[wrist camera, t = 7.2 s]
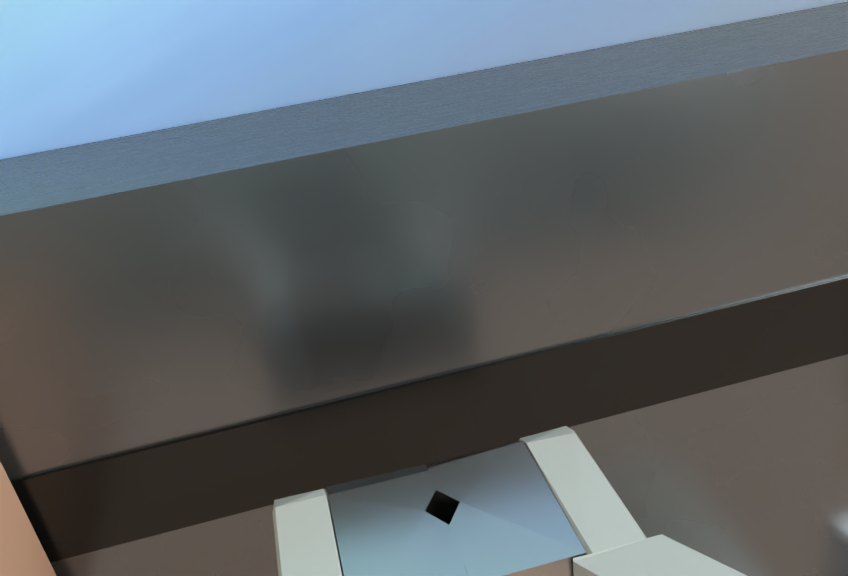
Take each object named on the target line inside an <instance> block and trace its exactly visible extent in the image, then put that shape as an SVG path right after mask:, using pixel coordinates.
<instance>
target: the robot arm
mask: <svg viewBox="0 0 848 576" xmlns="http://www.w3.org/2000/svg"><path fill="white" fill-rule="evenodd" d="M327 492H328V495H327ZM327 492H326V489H320V490H315V491H311V492H307V493H302V494H298V495H294V496H289V497H285V498H281V499H276V500H274V505H273V511H272V514H273V524H274V534H275V544H276V554H277V564H278V575H279V576H747V575H745V574H743V573H741V572H739V571H737V570H735V569H733V568H731V567H729V566H726V565H724V564H722V563H720V562H718V561H716V560H714V559H712V558H710V557H708V556H706V555H704V554H702V553H700V552H698V551H696V550H693V549H691V548H689V547H687V546H685V545H683V544H681V543H679V542H677V541H675V540H673V539H671V538H669V537H667V536H665V535H663V534H661V535H657V536H653V537H649V538H646V536H645V535H644V533H643V532H642V530H641V529H640V527H639V526H638V524H637V523H636V521H635V520H634V518H633V517H632V515H631V514H630V512H629V511H628V510H627V508H626V507H625V505H624V504H623V502H622V501H621V499H620V498H619V496H618V495H617V493H616V492H615V490H614V489H613V487H612V486H611V484H610V483H609V481H608V480H607V479H606V477H605V476H604V474H603V473H602V471H601V470H600V468H599V467H598V465H597V464H596V462H595V461H594V459H593V458H592V456H591V455H590V453H589V452H588V451H587V449H586V448H585V446H584V445H583V443H582V442H581V440H580V439H579V437H578V436H577V434H576V433H575V431H574V430H572V429H570V428H569V427H567V426H563V427H560V428H556V429H552V430H549V431H545V432H541V433H538V434H534V435H531V436H527V437H523V438H520V439H519V441H512V442H508V443H504V444H501V445H497V446H493V447H489V448H485V449H481V450H478V451H474V452H470V453H466V454H462V455H459V456H455V457H451V458H447V459H443V460H439V461H436V462H432V463H428V464H424V465H420V466H415V467H411V468H407V469H402V470H398V471H394V472H389V473H385V474H381V475H376V476H372V477H368V478H363V479H359V480H354V481H350V482H346V483H341V484H337V485H333V486H328V487H327ZM328 497H329V499H328ZM329 503H330V504H329Z"/></svg>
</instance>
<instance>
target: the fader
mask: <svg viewBox="0 0 848 576" xmlns="http://www.w3.org/2000/svg"><path fill="white" fill-rule="evenodd" d="M0 576H56V574H55V572H54V570H53V568H52V566H51V563H50V561H49V559H48V557H47V555H46V553H45V551H44V549H43V547H42V545H41V543H40V541H39V539H38V537H37V535H36V533H35V531H34V529H33V527H32V525H31V523H30V521H29V519H28V517H27V515H26V513H25V510H24V508H23V506H22V504H21V502H20V500H19V498H18V496H17V494H16V492H15V490H14V488H13V486H12V484H11V482H10V480H9V478H8V476H7V474H6V472H5V470H4V468H3V466H2V464H1V462H0Z"/></svg>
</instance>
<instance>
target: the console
mask: <svg viewBox="0 0 848 576" xmlns="http://www.w3.org/2000/svg"><path fill="white" fill-rule="evenodd" d="M563 426H567V427H569V428H570V429H572V430H574V431H575V433H576V434H577V436H578V437H579V439H580V440H581V442H582V443H583V445H584V446H585V448H586V449H587V451H588V452H589V453H590V455H591V456H592V458H593V459H594V461H595V462H596V464H597V465H598V467H599V468H600V470H601V471H602V473H603V474H604V476H605V477H606V479H607V480H608V481H609V483H610V484H611V486H612V487H613V489H614V490H615V492H616V493H617V495H618V496H619V498H620V499H621V501H622V502H623V504H624V505H625V507H626V508H627V510H628V511H629V512H630V514H631V515H632V517H633V518H634V520H635V521H636V523H637V524H638V526H639V527H640V529H641V530H642V532H643V533H644V535H645V536H646V538H649V537H653V536H657V535H661V534H663V535H665V536H667V537H669V538H671V539H673V540H675V541H677V542H679V543H681V544H683V545H685V546H687V547H689V548H691V549H693V550H696V551H698V552H700V553H702V554H704V555H706V556H708V557H710V558H712V559H714V560H716V561H718V562H720V563H722V564H724V565H726V566H729V567H731V568H733V569H735V570H737V571H739V572H741V573H743V574H745V575H747V576H848V2H844V3H839V4H834V5H828V6H823V7H818V8H812V9H807V10H802V11H796V12H791V13H785V14H780V15H775V16H769V17H764V18H759V19H753V20H748V21H743V22H737V23H732V24H726V25H721V26H716V27H710V28H705V29H700V30H694V31H689V32H683V33H678V34H673V35H667V36H662V37H657V38H651V39H646V40H641V41H635V42H630V43H624V44H619V45H614V46H608V47H603V48H598V49H592V50H587V51H582V52H576V53H571V54H565V55H560V56H555V57H549V58H544V59H539V60H533V61H528V62H523V63H517V64H512V65H506V66H501V67H496V68H490V69H485V70H480V71H474V72H469V73H463V74H458V75H453V76H447V77H442V78H437V79H431V80H426V81H421V82H415V83H410V84H404V85H399V86H394V87H388V88H383V89H378V90H372V91H367V92H362V93H356V94H351V95H345V96H340V97H335V98H329V99H324V100H319V101H313V102H308V103H303V104H297V105H292V106H286V107H281V108H276V109H270V110H265V111H260V112H254V113H249V114H244V115H238V116H233V117H227V118H222V119H217V120H211V121H206V122H201V123H195V124H190V125H184V126H179V127H174V128H168V129H163V130H158V131H152V132H147V133H142V134H136V135H131V136H125V137H120V138H115V139H109V140H104V141H99V142H93V143H88V144H83V145H77V146H72V147H66V148H61V149H56V150H50V151H45V152H40V153H34V154H29V155H24V156H18V157H13V158H7V159H2V160H0V462H1V464H2V466H3V468H4V470H5V472H6V474H7V476H8V478H9V480H10V482H11V484H12V486H13V488H14V490H15V492H16V494H17V496H18V498H19V500H20V502H21V504H22V506H23V508H24V510H25V513H26V515H27V517H28V519H29V521H30V523H31V525H32V527H33V529H34V531H35V533H36V535H37V537H38V539H39V541H40V543H41V545H42V547H43V549H44V551H45V553H46V555H47V557H48V559H49V561H50V563H51V566H52V568H53V570H54V572H55V574H56V576H279V575H278V564H277V554H276V544H275V534H274V524H273V514H272V511H273V505H274V500H276V499H281V498H285V497H289V496H294V495H298V494H302V493H307V492H311V491H315V490H320V489H326V492H327V487H328V486H333V485H337V484H341V483H346V482H350V481H354V480H359V479H363V478H368V477H372V476H376V475H381V474H385V473H389V472H394V471H398V470H402V469H407V468H411V467H415V466H420V465H424V464H428V463H432V462H436V461H439V460H443V459H447V458H451V457H455V456H459V455H462V454H466V453H470V452H474V451H478V450H481V449H485V448H489V447H493V446H497V445H501V444H504V443H508V442H512V441H519V439H520V438H523V437H527V436H531V435H534V434H538V433H541V432H545V431H549V430H552V429H556V428H560V427H563ZM327 495H328V492H327ZM328 499H329V497H328ZM329 504H330V503H329Z"/></svg>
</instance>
